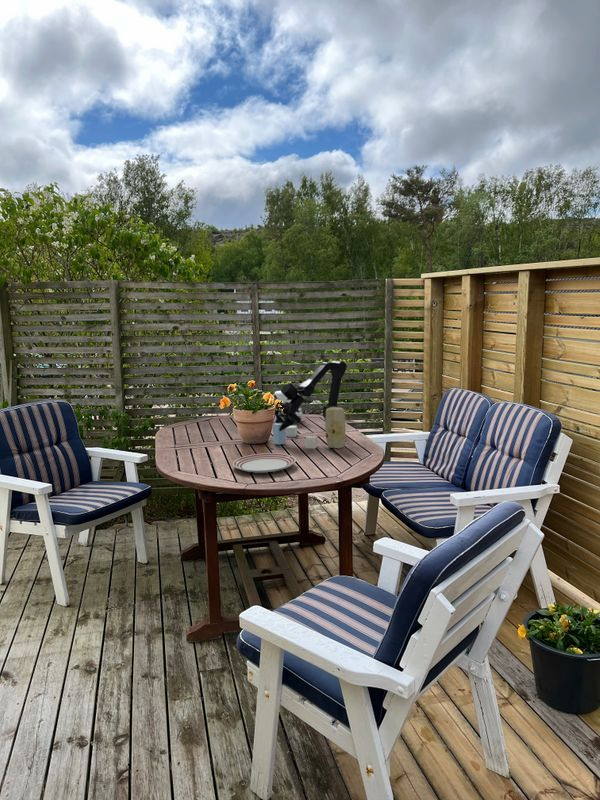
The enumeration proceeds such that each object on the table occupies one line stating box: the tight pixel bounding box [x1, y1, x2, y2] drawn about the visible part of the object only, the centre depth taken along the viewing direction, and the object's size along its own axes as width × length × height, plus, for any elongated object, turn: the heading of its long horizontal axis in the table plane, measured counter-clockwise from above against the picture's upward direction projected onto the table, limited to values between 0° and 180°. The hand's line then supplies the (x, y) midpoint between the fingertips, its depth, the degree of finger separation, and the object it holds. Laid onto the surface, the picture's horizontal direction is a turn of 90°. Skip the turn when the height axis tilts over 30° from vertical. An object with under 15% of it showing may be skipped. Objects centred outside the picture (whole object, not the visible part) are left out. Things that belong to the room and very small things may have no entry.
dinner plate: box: [232, 452, 297, 474], centre depth 255 cm, size 27×27×3 cm
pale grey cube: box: [285, 425, 298, 438], centre depth 315 cm, size 5×5×5 cm
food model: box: [324, 406, 346, 449], centre depth 285 cm, size 10×7×20 cm
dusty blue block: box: [272, 422, 287, 446], centre depth 295 cm, size 4×4×10 cm
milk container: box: [273, 390, 303, 421], centre depth 351 cm, size 17×17×18 cm
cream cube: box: [305, 435, 318, 449], centre depth 288 cm, size 5×5×5 cm
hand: (276, 429), depth 294 cm, fingers closed on dusty blue block, 4 cm apart
